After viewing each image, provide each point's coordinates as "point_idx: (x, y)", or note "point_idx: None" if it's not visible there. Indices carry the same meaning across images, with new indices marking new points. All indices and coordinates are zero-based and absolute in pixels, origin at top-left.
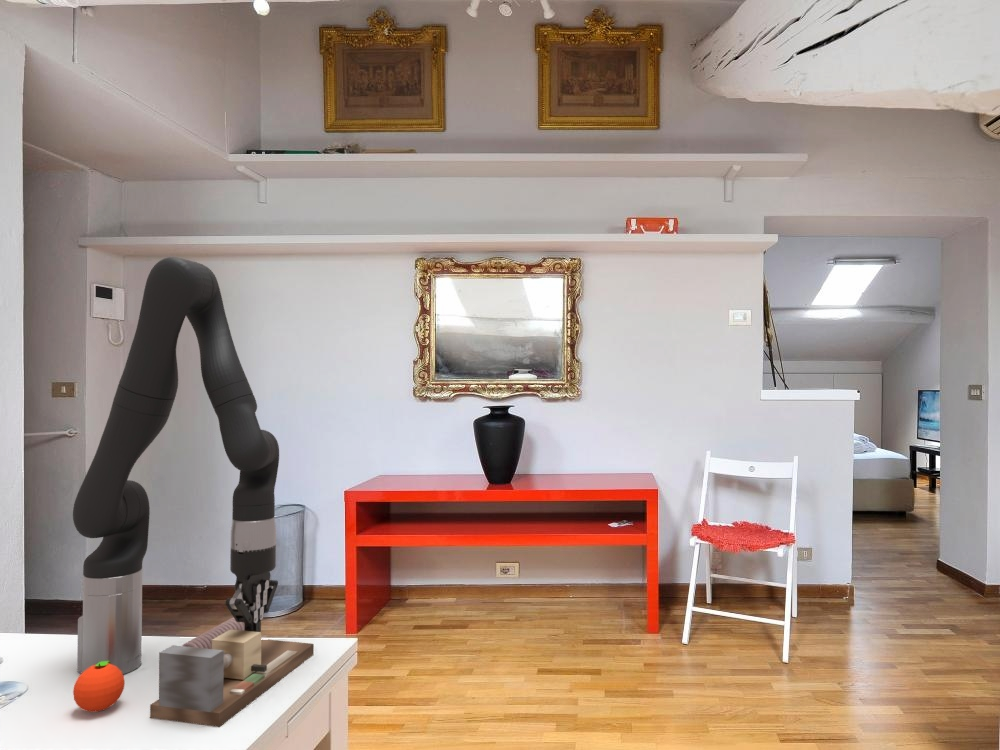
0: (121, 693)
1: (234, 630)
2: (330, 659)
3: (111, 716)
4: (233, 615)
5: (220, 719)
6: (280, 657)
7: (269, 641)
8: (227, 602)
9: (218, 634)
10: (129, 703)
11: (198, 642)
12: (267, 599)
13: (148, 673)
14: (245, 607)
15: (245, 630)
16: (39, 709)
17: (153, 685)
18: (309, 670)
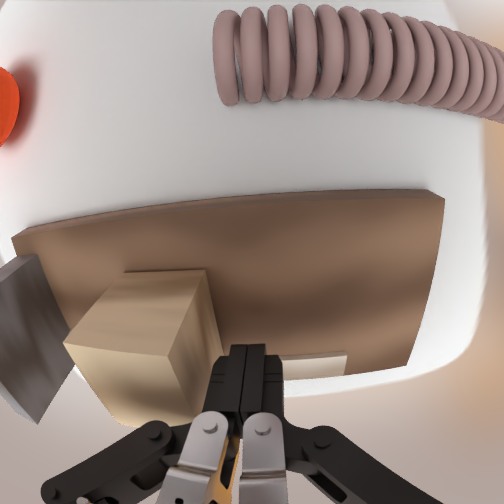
0: (1, 143)
1: (167, 374)
2: (372, 382)
3: (6, 156)
4: (110, 449)
5: None
6: (296, 365)
7: (424, 257)
8: (47, 491)
9: (384, 77)
10: (34, 133)
11: (248, 65)
12: (334, 499)
13: (157, 5)
14: (129, 502)
15: (208, 393)
16: (4, 29)
17: (101, 87)
18: (313, 380)
